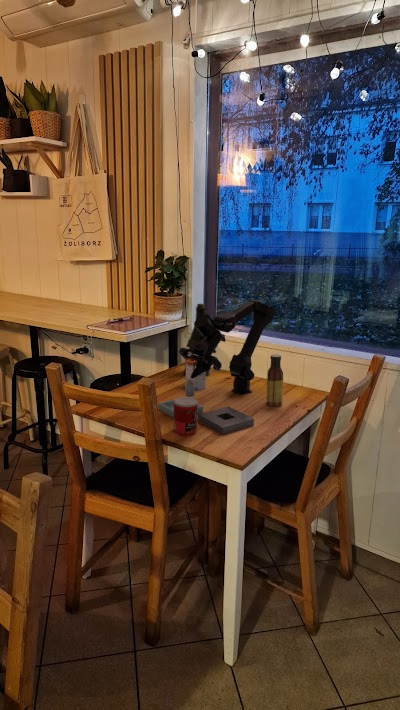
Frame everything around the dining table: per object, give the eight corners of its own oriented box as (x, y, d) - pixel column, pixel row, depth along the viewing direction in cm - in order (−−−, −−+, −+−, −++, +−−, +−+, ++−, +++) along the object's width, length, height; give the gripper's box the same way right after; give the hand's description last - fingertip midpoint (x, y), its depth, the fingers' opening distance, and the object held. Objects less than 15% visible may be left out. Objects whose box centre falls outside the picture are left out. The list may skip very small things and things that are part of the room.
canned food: (188, 438, 155) (189, 406, 152) (168, 432, 159) (169, 401, 156) (201, 430, 161) (202, 400, 159) (181, 425, 165) (182, 395, 163)
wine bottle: (186, 375, 220) (187, 305, 211) (190, 369, 230) (191, 301, 221) (208, 377, 218) (210, 306, 209) (211, 371, 228) (214, 302, 219)
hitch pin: (195, 393, 182) (196, 357, 178) (196, 397, 178) (197, 361, 174) (183, 393, 182) (184, 357, 178) (184, 397, 177) (185, 361, 174)
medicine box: (185, 385, 206) (186, 366, 204) (193, 383, 209) (193, 365, 207) (197, 390, 200) (198, 371, 198) (205, 388, 203) (206, 369, 201)
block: (228, 412, 178) (228, 406, 177) (253, 425, 167) (254, 418, 166) (197, 420, 169) (198, 414, 169) (222, 434, 159) (223, 427, 158)
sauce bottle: (283, 402, 189) (287, 354, 184) (280, 407, 184) (284, 358, 178) (267, 400, 191) (270, 352, 186) (263, 405, 186) (267, 356, 180)
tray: (184, 403, 186) (184, 397, 185) (202, 412, 177) (203, 406, 176) (158, 409, 179) (158, 403, 178) (176, 419, 170) (176, 413, 169)
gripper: (182, 326, 183) (160, 359, 178) (217, 335, 170) (194, 370, 165) (197, 343, 190) (175, 375, 185) (231, 353, 177) (209, 387, 172)
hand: (187, 376), depth 177 cm, fingers closed on hitch pin, 4 cm apart
